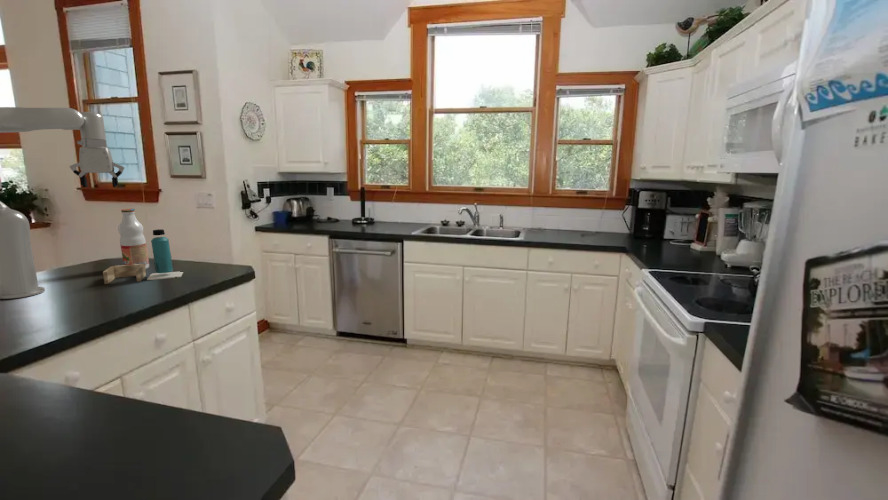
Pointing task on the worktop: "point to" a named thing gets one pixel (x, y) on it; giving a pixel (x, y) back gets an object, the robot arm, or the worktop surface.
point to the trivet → (164, 275)
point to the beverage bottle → (161, 253)
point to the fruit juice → (132, 240)
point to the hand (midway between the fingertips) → (100, 187)
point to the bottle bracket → (124, 272)
